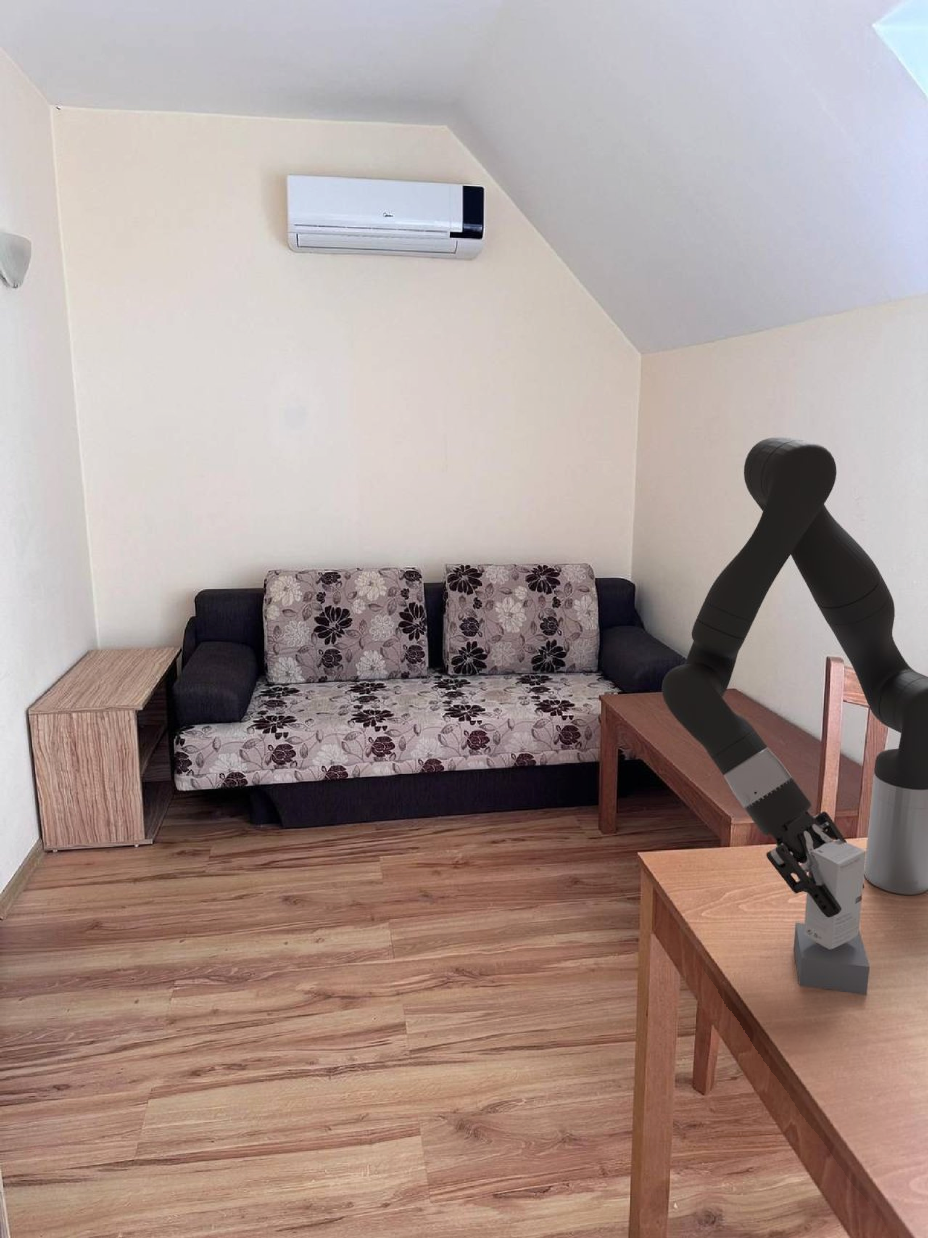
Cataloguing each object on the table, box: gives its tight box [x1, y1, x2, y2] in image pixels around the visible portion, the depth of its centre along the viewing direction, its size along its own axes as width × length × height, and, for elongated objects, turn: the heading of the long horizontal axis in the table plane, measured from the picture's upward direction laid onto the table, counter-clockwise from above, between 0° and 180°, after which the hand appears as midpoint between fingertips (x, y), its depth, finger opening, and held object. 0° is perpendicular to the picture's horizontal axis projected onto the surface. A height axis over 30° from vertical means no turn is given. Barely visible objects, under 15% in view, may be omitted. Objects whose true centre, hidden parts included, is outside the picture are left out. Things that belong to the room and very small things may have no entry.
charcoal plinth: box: [793, 922, 871, 995], centre depth 116 cm, size 8×8×4 cm
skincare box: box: [803, 839, 866, 949], centre depth 114 cm, size 6×4×12 cm
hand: (846, 902), depth 113 cm, fingers closed on skincare box, 6 cm apart
